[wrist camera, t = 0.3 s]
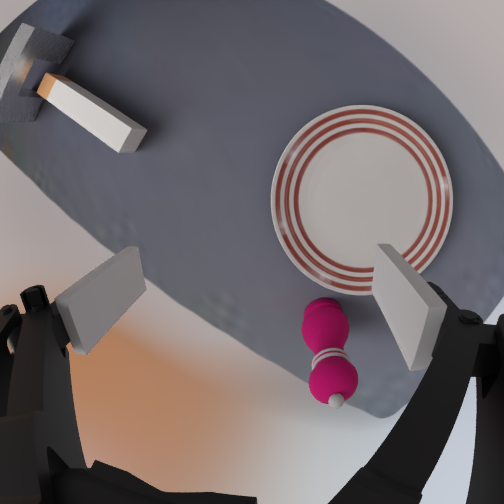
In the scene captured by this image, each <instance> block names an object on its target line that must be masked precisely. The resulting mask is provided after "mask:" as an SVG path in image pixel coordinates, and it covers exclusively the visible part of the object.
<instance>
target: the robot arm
mask: <svg viewBox="0 0 504 504" xmlns="http://www.w3.org/2000/svg"><path fill="white" fill-rule="evenodd" d="M145 291H146V286H145V281H144V276H143V271H142V266H141V261H140V255H139V250H138V247H126V248H125V249H123V250H122V251H120V252H119V253H117V254H116V255H114V256H113V257H112V258H110V259H108V260H107V261H105V262H104V263H103V264H101V265H100V266H98V267H97V268H95V269H94V270H93V271H91V272H90V273H88V274H87V275H85V276H84V277H83V278H81V279H80V280H79V281H77V282H76V283H74V284H73V285H72V286H70V287H69V288H68V289H66V290H65V291H64V292H62V293H61V294H60V295H58V296H57V297H56V298H55V301H54V302H53V303H51V304H50V303H49V300H48V297H47V294H46V291H45V288H44V286H42V285H36V286H32V287H29V288H27V289H25V290H24V291H23V292H22V293H21V294H20V296H21V299H22V302H23V305H24V307H25V310H26V313H25V314H20V312H19V310H18V307H17V305H15V304H11V305H6V306H4V307H2V308H1V310H0V504H257V498H256V497H248V496H238V495H229V494H222V493H215V492H195V493H194V492H192V493H191V492H190V493H181V492H180V493H179V492H177V493H176V492H174V493H173V492H163V491H160V490H159V489H157V488H155V487H153V486H151V485H149V484H148V483H146V482H144V481H142V480H141V479H139V478H137V477H135V476H133V475H132V474H131V473H129V472H127V471H124V470H121V469H118V468H116V467H113V466H110V465H108V464H105V463H102V462H100V461H97V460H95V461H94V463H93V465H92V467H91V468H87V466H86V463H85V460H84V455H83V452H82V447H81V442H80V437H79V432H78V427H77V421H76V415H75V409H74V402H73V394H72V386H71V375H70V363H69V352H68V349H67V347H66V345H67V344H68V343H69V342H71V344H72V347H73V349H74V351H75V352H76V353H80V354H84V355H87V354H88V353H89V352H90V351H91V350H92V348H93V347H94V346H95V345H96V344H97V343H98V342H99V341H100V340H101V338H102V337H103V336H104V335H105V334H106V333H107V332H108V331H109V329H110V328H111V327H112V326H113V325H114V324H115V323H116V322H117V321H118V320H119V318H120V317H121V316H122V315H123V314H124V313H125V312H126V311H127V310H128V308H129V307H130V306H131V305H132V304H133V303H134V302H135V301H136V300H137V299H138V298H139V297H140V296H141V295H142V294H143V293H144V292H145ZM371 292H372V293H373V295H374V297H375V299H376V301H377V303H378V305H379V307H380V309H381V311H382V313H383V315H384V317H385V319H386V321H387V323H388V325H389V327H390V329H391V331H392V333H393V335H394V337H395V339H396V342H397V344H398V346H399V348H400V350H401V352H402V354H403V357H404V359H405V361H406V363H407V366H408V368H409V370H410V371H415V370H422V369H427V368H428V369H427V371H426V373H425V375H424V377H423V379H422V380H421V382H420V384H419V386H418V388H417V390H416V391H415V393H414V395H413V397H412V398H411V400H410V402H409V403H408V405H407V407H406V408H405V410H404V412H403V413H402V415H401V416H400V418H399V420H398V421H397V422H396V424H395V426H394V427H393V429H392V430H391V432H390V433H389V434H388V436H387V437H386V439H385V440H384V442H383V443H382V444H381V446H380V447H379V448H378V450H377V451H376V452H375V454H374V455H373V456H372V458H371V459H370V460H369V462H368V463H367V464H366V465H365V466H364V467H362V468H360V469H359V470H358V471H357V473H356V474H355V475H354V476H353V477H352V478H351V479H350V480H349V481H348V483H347V484H346V485H345V486H344V487H343V488H342V489H341V490H340V492H338V494H337V495H336V496H335V497H334V498H333V499H332V500H331V501H330V502H329V503H328V504H419V503H420V501H421V498H422V494H421V492H422V490H423V488H424V486H425V484H426V482H427V480H428V479H429V477H430V475H431V473H432V471H433V470H434V468H435V466H436V464H437V462H438V460H439V458H440V456H441V454H442V451H443V449H444V447H445V445H446V443H447V441H448V438H449V436H450V434H451V431H452V429H453V427H454V424H455V422H456V419H457V416H458V414H459V411H460V408H461V406H462V403H463V400H464V397H465V394H466V391H467V387H468V384H469V381H470V378H471V377H476V389H477V390H476V391H477V414H476V436H475V449H474V459H473V466H472V473H471V480H470V486H469V491H468V497H467V501H466V504H504V314H501V315H500V316H499V319H498V322H497V324H496V325H489V324H483V320H482V318H481V317H480V316H479V315H478V314H476V313H475V312H472V311H469V310H460V309H459V308H458V307H457V306H456V305H455V304H454V303H453V302H452V300H451V299H450V298H448V296H447V295H446V294H444V292H443V291H442V290H441V288H440V287H439V286H437V285H435V284H433V283H432V282H426V281H425V280H424V279H423V278H422V277H421V276H420V275H419V274H418V272H417V271H416V270H415V269H414V268H413V267H412V266H411V265H410V264H409V263H408V262H407V261H406V260H405V259H404V258H403V257H402V256H401V255H400V254H399V253H398V252H397V251H396V250H395V248H394V247H393V246H392V245H391V244H376V254H375V264H374V273H373V282H372V290H371ZM7 341H8V343H9V345H10V347H11V349H12V353H11V354H10V351H9V349H8V346H7ZM431 357H433V359H432V361H431V363H430V365H429V362H430V360H431ZM428 365H429V367H428Z"/></svg>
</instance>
